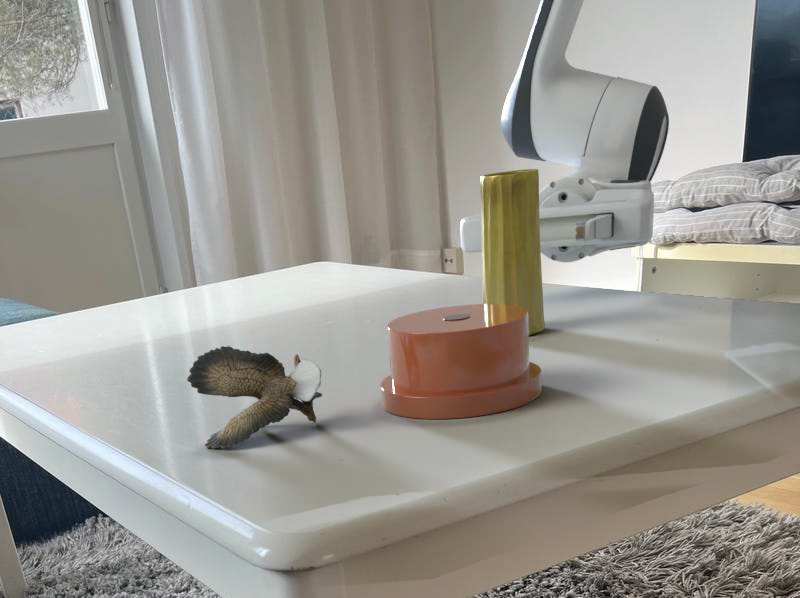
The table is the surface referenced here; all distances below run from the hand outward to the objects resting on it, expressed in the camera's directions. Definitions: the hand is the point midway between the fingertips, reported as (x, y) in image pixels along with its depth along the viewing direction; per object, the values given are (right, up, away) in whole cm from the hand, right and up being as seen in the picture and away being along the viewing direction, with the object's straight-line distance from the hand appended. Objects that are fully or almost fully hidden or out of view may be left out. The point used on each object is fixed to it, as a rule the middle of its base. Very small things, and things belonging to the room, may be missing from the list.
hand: (535, 236), depth 98 cm
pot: (-11, -22, -22) cm, 33 cm away
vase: (-3, -11, -2) cm, 11 cm away
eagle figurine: (-26, -25, -24) cm, 43 cm away
